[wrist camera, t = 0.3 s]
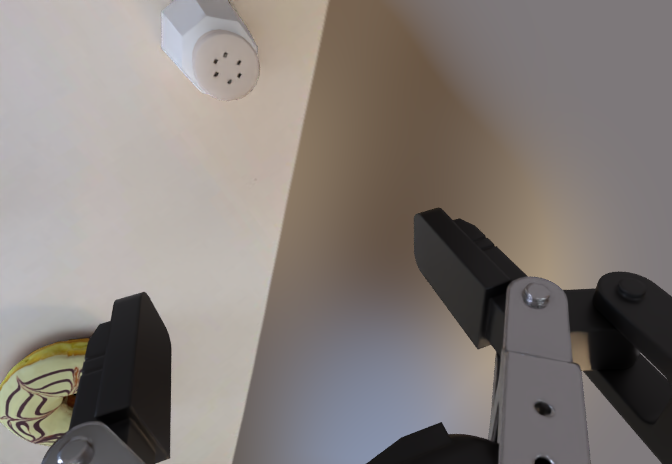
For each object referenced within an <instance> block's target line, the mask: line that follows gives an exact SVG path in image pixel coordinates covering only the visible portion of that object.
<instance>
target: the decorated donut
mask: <svg viewBox="0 0 672 464" xmlns="http://www.w3.org/2000/svg"><path fill="white" fill-rule="evenodd" d="M88 341H89V338H85V339H73V340H68V341H60V342H56V343H53V344H50V345H47V346H44V347H42V348H40V349H37V350H35V351H34V352H32V353H30V354H29V355H28V356H26V357H25V358H24V359H23V360H22V361H20V362H19V363H18V364H17V365H16V366H14V367H13V368H12V369H11V370H10V372H9V373H8V374H7V376H6V378H5V379H4V381H3V382H2V383H1V385H0V422H1V423H2V424H3V425H4V426H5V427H6V428H8V429H9V430H10V431H11V432H12V433H14V434H15V435H17V436H18V437H20V438H22V439H24V440H26V441H29V442H32V443H35V444H40V445H45V446H52V444H53V443H54V442H55V441H56V440H57V439H58V438H59V437H60V436H61V435H63V434H64V433H65V432H67V431H68V430H69V426H70V421H71V417H72V412H73V408H74V403H75V399H76V396H75V395H72V394H75V393H77V390H78V385H79V381H80V376H82V373H81V371H82V367H83V362H84V361H85V359H84V358H85V353H86V349H87V344H88Z"/></svg>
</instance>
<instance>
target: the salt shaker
mask: <svg viewBox="0 0 672 464" xmlns="http://www.w3.org/2000/svg"><path fill="white" fill-rule="evenodd" d="M162 49H163V51H164V52H165V53H166V54H167V55H168V56H169V57H170V58H171V60H172V61H173V62H174V63H175V64H176V65H177V66H178V67H179V69H180V70H181V71H182V72H183V73H184V74H185V75H186V77H187V78H188V79H189V80H190V81H191V82H192V83H193V84H194V85H195V86H196V87H197V88H198V89H199V90H200V91H201V92H202V93H204V94H209V95H210V96H212V97H214V98H216V99H219V100H223V101H233V100H238V99H240V98H243V97H245V96H246V95H247V94H249V93H250V92H251V91H252V90H253V88H254V87H255V85H256V83H257V81H258V78H259V72H260V65H259V59H258V56H257V52H258V48H257V45H256V43H255V41H254V39H253V37H252V35H251V34H250V32H249V30H248V28H247V26H246V25H245V24H244V22H243V21H242V19H241V18H240V17H239V15H238V14H237V13H236V11H235V10H234V8H233V7H232V6H231V4H230V3H229V1H228V0H174V1H173V2H172V3H171V4H169V5H168V6H167V7H166V8H165V9H163V10H162Z"/></svg>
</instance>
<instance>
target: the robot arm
mask: <svg viewBox="0 0 672 464" xmlns="http://www.w3.org/2000/svg"><path fill="white" fill-rule="evenodd" d="M414 254H415V259H416V262H417V265H418V268H419V270H420V271H421V273H422V274H423V276H424V277H425V278H426V279H427V281H428V282H429V283H430V285H431V286H432V288H433V289H434V290H435V292H436V293H437V295H438V296H439V297H440V299H441V300H442V301H443V303H444V304H445V305H446V307H447V308H448V310H449V311H450V312H451V314H452V315H453V316H454V318H455V319H456V320H457V322H458V323H459V325H460V326H461V327H462V329H463V330H464V331H465V333H466V334H467V335H468V337H469V338H470V340H471V341H472V342H473V344H474V345H475V346H476V347H477V349H480V348H483V347H486V346H489V345H492V346H493V348H494V349H495V350H496V358H495V370H494V383H493V396H492V409H491V420H490V428H489V437H488V440H487V439H484V438H480V437H477V436H471V435H465V434H448V433H447V431H446V429H445V427H444V426H443V424H442V422H441V423H438V424H436V425H433V426H430V427H428V428H425V429H422V430H420V431H417V432H415V433H412V434H410V435H407V436H404V437H402V438H400V439H399V440H398V441H396V442H395V443H394V444H392V445H391V446H389V447H388V448H387V449H385V450H384V451H383V452H381V453H380V454H379V455H377V456H376V457H375V458H373V459H372V460H371V461H370V462H368V463H367V464H591V460H590V450H589V441H588V431H587V421H586V412H585V403H584V391H583V382H582V373H581V371H583V372H584V373H585V374H586V375H587V376H588V377H589V379H590V380H591V381H592V382H593V383H594V384H595V386H596V387H597V388H598V389H599V390H600V391H601V393H602V394H603V395H604V396H605V397H606V399H607V400H608V401H609V402H610V403H611V404H612V406H613V407H614V408H615V409H616V410H617V411H618V413H619V414H620V415H621V416H622V417H623V418H624V419H625V421H626V422H627V423H628V424H629V425H630V426H631V428H632V429H633V430H634V431H635V432H636V434H637V435H638V436H639V437H640V438H641V439H642V440H643V442H644V443H645V444H646V445H647V446H648V448H649V449H650V450H651V451H652V452H653V453H654V455H655V456H656V457H657V458H658V459H659V460H660V462H661V463H662V464H672V297H671V296H670V295H669V294H668V293H666V292H665V291H664V290H663V289H661V288H660V287H659V286H657V285H656V284H655V283H653V282H652V281H650V280H649V279H647V278H645V277H642V276H639V275H637V274H633V273H629V272H612V273H608V274H605V275H603V276H602V277H601V278H600V279H599V281H598V284H597V287H596V289H578V290H562V289H561V288H560V287H559V286H557V285H556V284H555V283H553V282H551V281H549V280H546V279H543V278H538V277H528V276H527V275H526V274H525V273H524V272H523V271H521V270H520V269H519V268H518V267H517V266H516V265H515V264H514V263H513V262H512V261H511V260H510V259H509V258H508V257H507V256H506V255H505V254H504V253H503V252H502V251H501V250H500V249H498V248H497V246H496V247H495V246H494V244H493V243H492V242H491V241H490V240H489V239H488V238H486V237H485V235H484V234H483V233H482V232H481V231H480V230H479V229H478V228H477V227H476V226H475V225H472V224H470V223H468V222H466V221H464V220H462V219H456V220H452V219H451V218H450V217H449V216H448V215H447V214H446V213H445V212H444V211H443V210H442V209H441V208H435V209H432V210H428V211H425V212H421V213H418V214H416V215H415V216H414ZM640 352H641V353H642V354H643V355H644V356H645V357H646V358H647V359H648V360H649V361H650V362H651V363H652V364H653V365H654V366H655V367H656V368H657V369H658V370H660V372H661V373H662V374H663V375H664V376H665V377H666V378H667V379H666V378H665V377H664V376H663V375H661V373H660V372H659V371H657V369H656V368H655V367H654V366H652V365H651V364H650V363H649V362H648V361H647V360H646V359H645V358H644V357H643V356H642V355H641V354H640ZM84 359H85V361H84V362H83V367H82V371H81V373H82V376H80V381H79V385H78V390H77V394H76V399H75V403H74V408H73V412H72V417H71V421H70V426H69V430H68V431H67V432H65V433H64V434H63V435H61V436H60V437H59V438H58V439H57V440H56V441H55V442H54V443H53V444H52V446H51V447H50V448H49V450H48V451H47V453H46V454H45V456H44V458H43V461H42V463H41V464H155V463H158V462H161V461H163V460H166V459H169V458H170V418H171V342H170V337H169V334H168V331H167V329H166V327H165V325H164V323H163V321H162V320H161V318H160V316H159V314H158V312H157V310H156V309H155V307H154V305H153V303H152V301H151V300H150V298H149V296H148V295H147V293H145V292H142V293H138V294H135V295H131V296H128V297H124V298H121V299H118V300H115V302H114V305H113V311H112V316H111V321H109V322H106V323H102V324H99V326H98V327H97V329H96V330H95V332H94V333H93V335H92V336H91V338H90V339H89V341H88V344H87V349H86V353H85V358H84Z"/></svg>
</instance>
